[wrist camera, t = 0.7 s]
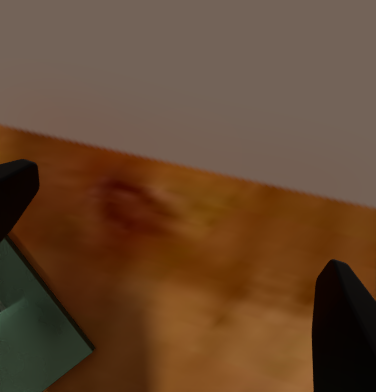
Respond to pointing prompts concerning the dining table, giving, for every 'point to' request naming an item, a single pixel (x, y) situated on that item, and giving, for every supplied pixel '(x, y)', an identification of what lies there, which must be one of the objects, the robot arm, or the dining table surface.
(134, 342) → the dining table surface
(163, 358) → the dining table surface
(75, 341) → the base
